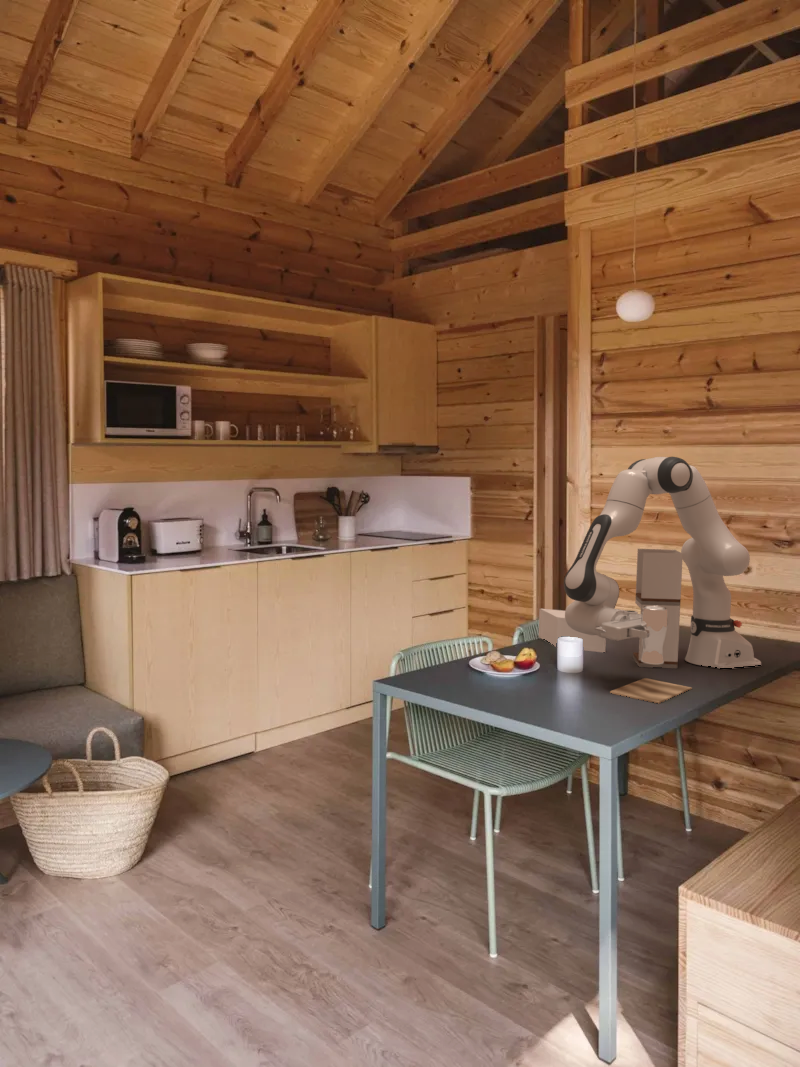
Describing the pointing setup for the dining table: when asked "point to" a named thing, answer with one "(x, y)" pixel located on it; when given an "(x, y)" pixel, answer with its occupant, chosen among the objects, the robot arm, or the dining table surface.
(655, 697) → the placemat
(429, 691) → the dining table surface
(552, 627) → the tan angular block
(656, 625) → the beer glass
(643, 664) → the stacked tan pillar
